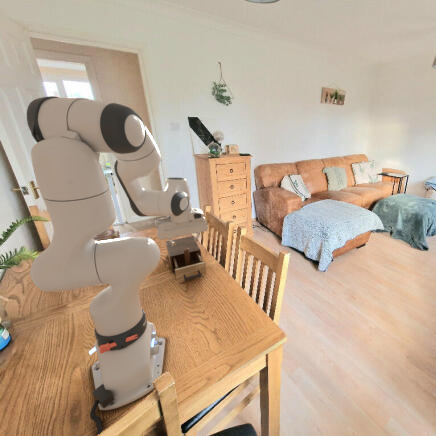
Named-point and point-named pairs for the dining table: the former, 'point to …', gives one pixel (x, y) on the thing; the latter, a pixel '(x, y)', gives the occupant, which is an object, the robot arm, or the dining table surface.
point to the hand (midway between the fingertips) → (185, 243)
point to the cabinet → (181, 248)
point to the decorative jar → (107, 235)
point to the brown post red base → (187, 256)
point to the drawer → (189, 267)
